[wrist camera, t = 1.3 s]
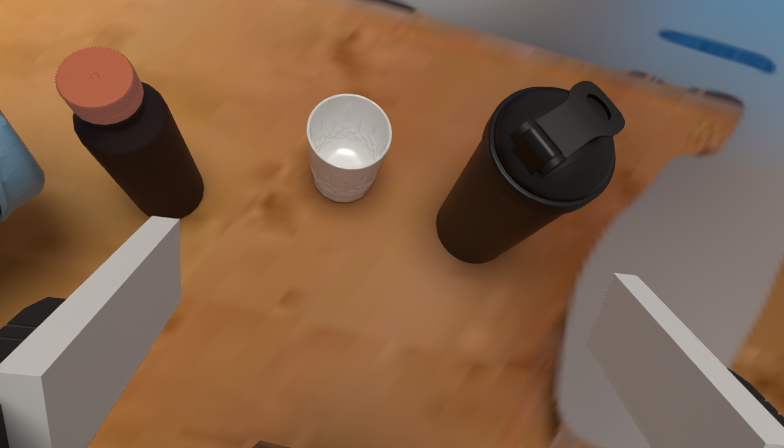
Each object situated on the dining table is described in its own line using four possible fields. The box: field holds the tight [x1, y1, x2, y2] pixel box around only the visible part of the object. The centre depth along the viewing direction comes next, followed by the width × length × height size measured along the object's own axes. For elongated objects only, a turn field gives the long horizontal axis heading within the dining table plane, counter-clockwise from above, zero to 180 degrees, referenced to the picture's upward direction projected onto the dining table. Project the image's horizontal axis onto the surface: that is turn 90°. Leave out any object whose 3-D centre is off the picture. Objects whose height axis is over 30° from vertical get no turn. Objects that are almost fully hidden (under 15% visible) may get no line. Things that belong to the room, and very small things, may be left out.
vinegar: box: [55, 47, 204, 219], centre depth 43 cm, size 7×7×20 cm
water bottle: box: [436, 81, 625, 263], centre depth 46 cm, size 10×10×23 cm
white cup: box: [307, 94, 392, 202], centre depth 52 cm, size 8×8×10 cm
